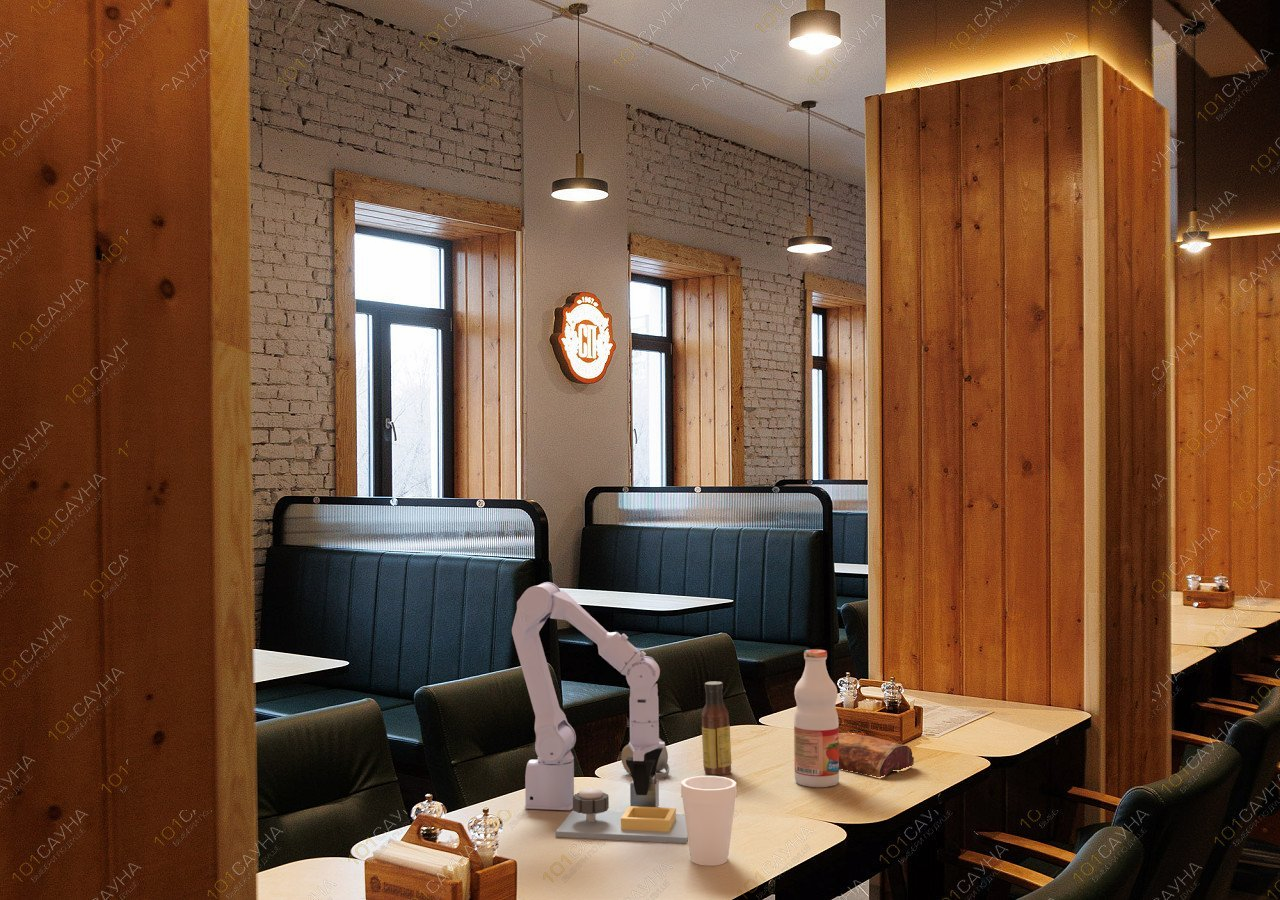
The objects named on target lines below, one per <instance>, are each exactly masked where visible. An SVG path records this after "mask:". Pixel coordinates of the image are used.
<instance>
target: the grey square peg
mask: <svg viewBox="0 0 1280 900" xmlns="http://www.w3.org/2000/svg"><path fill="white" fill-rule="evenodd" d="M659 782H660V779H655V775H650V781H649V789H648V793H647V795H636V792H635V788H634V783H633V779H632V780H631V782H630V784H629V787H630V789H629V790H630V791H629V793H630V795H629V796H630V797H629V799H630V805H629V806H639V807H658V806H659V807H660V802H659V801H660V790H659V788H660V783H659Z"/></svg>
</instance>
